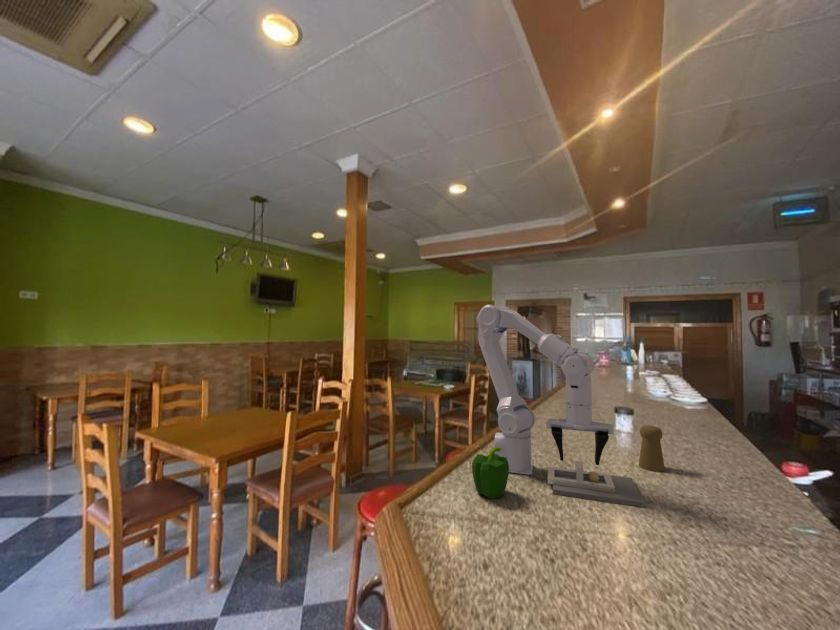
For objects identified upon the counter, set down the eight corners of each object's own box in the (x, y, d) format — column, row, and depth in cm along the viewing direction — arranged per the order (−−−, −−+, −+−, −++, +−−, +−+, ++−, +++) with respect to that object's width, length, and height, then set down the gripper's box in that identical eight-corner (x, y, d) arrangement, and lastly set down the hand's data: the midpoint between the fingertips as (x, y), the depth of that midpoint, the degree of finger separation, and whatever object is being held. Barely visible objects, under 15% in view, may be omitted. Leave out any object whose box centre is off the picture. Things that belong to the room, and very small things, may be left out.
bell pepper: (478, 503, 78) (478, 455, 78) (467, 487, 86) (467, 443, 86) (516, 501, 79) (516, 453, 79) (501, 485, 87) (501, 442, 87)
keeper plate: (552, 493, 83) (552, 478, 83) (552, 471, 96) (552, 458, 96) (645, 507, 76) (644, 491, 77) (631, 481, 90) (631, 468, 90)
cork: (669, 472, 96) (668, 429, 96) (643, 470, 97) (642, 428, 98) (659, 464, 102) (658, 424, 102) (635, 462, 103) (634, 422, 103)
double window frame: (547, 483, 86) (547, 466, 86) (548, 471, 93) (548, 455, 93) (615, 493, 81) (614, 474, 81) (610, 479, 88) (609, 462, 89)
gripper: (546, 404, 87) (546, 463, 86) (615, 409, 82) (616, 471, 81) (546, 399, 93) (547, 453, 93) (610, 403, 88) (611, 461, 88)
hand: (579, 461), depth 87 cm, fingers open, 7 cm apart
